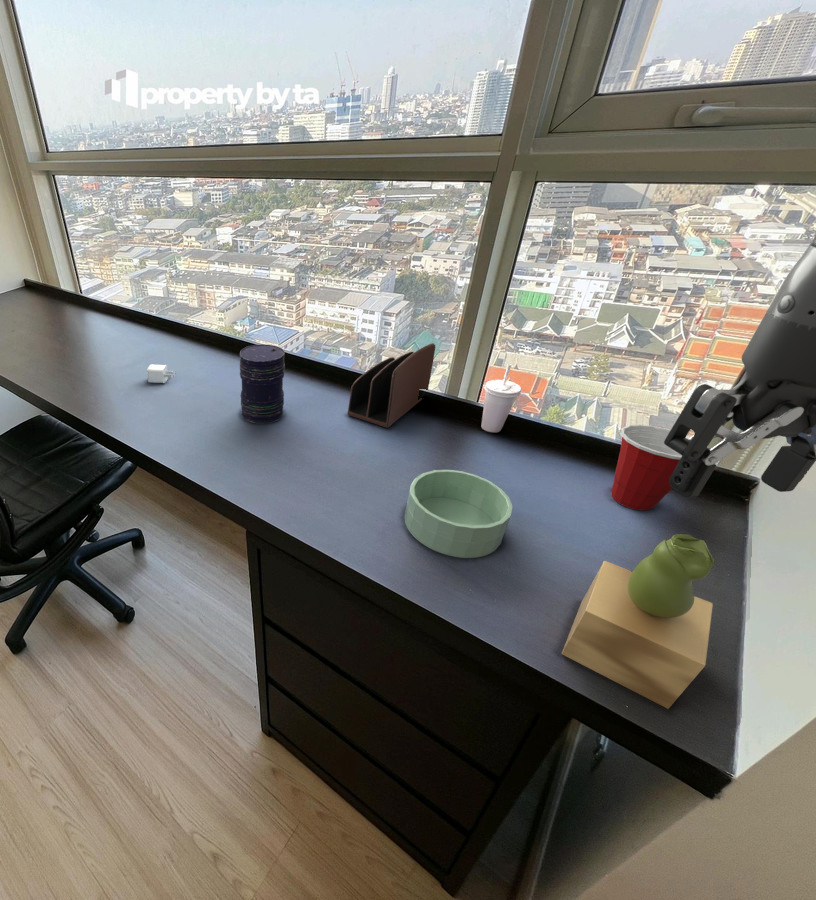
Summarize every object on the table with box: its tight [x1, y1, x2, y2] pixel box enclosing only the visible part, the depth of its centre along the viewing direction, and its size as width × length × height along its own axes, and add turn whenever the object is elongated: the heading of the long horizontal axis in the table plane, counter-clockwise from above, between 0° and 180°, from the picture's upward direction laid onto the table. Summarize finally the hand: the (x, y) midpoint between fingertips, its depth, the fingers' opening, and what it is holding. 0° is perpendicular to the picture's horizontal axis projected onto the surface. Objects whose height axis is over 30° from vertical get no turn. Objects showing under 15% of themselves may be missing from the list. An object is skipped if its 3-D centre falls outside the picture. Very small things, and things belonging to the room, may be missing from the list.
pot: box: [404, 469, 514, 559], centre depth 75 cm, size 14×14×6 cm
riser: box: [561, 560, 714, 710], centre depth 55 cm, size 10×10×8 cm
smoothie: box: [480, 363, 522, 433], centre depth 97 cm, size 6×6×14 cm
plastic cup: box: [611, 423, 710, 511], centre depth 77 cm, size 11×11×12 cm
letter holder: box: [347, 343, 436, 429], centre depth 108 cm, size 10×20×14 cm, turn 137°
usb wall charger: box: [146, 364, 177, 384], centre depth 129 cm, size 4×7×4 cm, turn 79°
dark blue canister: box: [239, 343, 286, 425], centre depth 108 cm, size 10×10×15 cm
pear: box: [628, 533, 715, 618], centre depth 50 cm, size 6×5×10 cm
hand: (728, 489), depth 44 cm, fingers open, 8 cm apart
